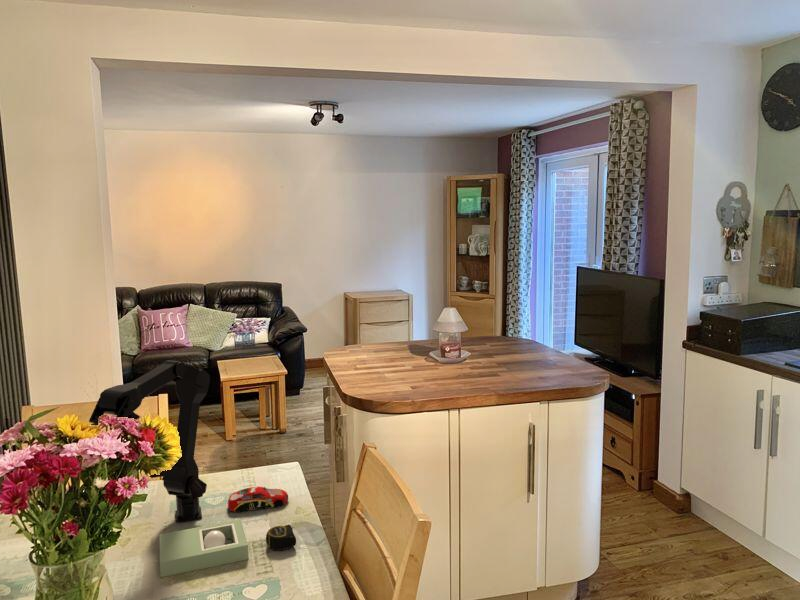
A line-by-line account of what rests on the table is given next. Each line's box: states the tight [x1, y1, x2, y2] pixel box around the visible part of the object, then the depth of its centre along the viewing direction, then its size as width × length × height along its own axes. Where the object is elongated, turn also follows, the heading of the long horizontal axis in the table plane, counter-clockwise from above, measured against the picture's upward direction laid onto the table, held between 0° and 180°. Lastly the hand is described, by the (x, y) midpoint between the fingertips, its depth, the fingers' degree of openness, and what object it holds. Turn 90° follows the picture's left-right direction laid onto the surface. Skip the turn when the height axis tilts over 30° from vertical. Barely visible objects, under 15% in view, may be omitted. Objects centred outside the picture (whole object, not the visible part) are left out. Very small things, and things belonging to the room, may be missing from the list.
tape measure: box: [265, 524, 297, 551], centre depth 146 cm, size 7×7×4 cm
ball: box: [204, 531, 227, 549], centre depth 143 cm, size 5×5×5 cm
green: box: [159, 519, 249, 578], centre depth 142 cm, size 13×19×4 cm
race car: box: [227, 486, 289, 513], centre depth 166 cm, size 16×7×5 cm, turn 105°
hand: (125, 507), depth 140 cm, fingers closed
